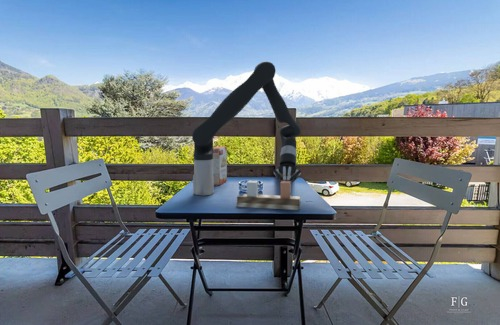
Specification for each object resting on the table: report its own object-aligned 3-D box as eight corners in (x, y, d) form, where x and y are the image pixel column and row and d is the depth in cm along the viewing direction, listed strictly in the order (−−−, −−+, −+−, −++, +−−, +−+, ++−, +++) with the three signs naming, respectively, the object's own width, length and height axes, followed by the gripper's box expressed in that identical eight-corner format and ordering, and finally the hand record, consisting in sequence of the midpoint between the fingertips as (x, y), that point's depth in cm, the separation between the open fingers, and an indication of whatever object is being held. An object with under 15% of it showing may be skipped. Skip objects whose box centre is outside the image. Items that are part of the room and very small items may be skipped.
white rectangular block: (247, 200, 116) (246, 182, 115) (249, 198, 120) (248, 180, 119) (256, 201, 115) (256, 182, 114) (257, 198, 119) (257, 180, 118)
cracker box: (220, 185, 152) (219, 148, 149) (210, 185, 153) (209, 148, 150) (227, 180, 165) (227, 146, 162) (218, 180, 167) (217, 146, 164)
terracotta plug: (280, 201, 115) (280, 182, 114) (281, 198, 119) (281, 180, 118) (289, 201, 114) (290, 183, 113) (290, 199, 118) (290, 181, 117)
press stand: (236, 206, 115) (236, 197, 114) (244, 196, 129) (244, 188, 129) (299, 210, 110) (299, 200, 109) (300, 199, 124) (300, 191, 124)
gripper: (273, 152, 127) (270, 183, 117) (302, 152, 124) (301, 185, 114) (274, 161, 133) (271, 192, 123) (302, 162, 130) (301, 194, 120)
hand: (285, 189), depth 118 cm, fingers closed
